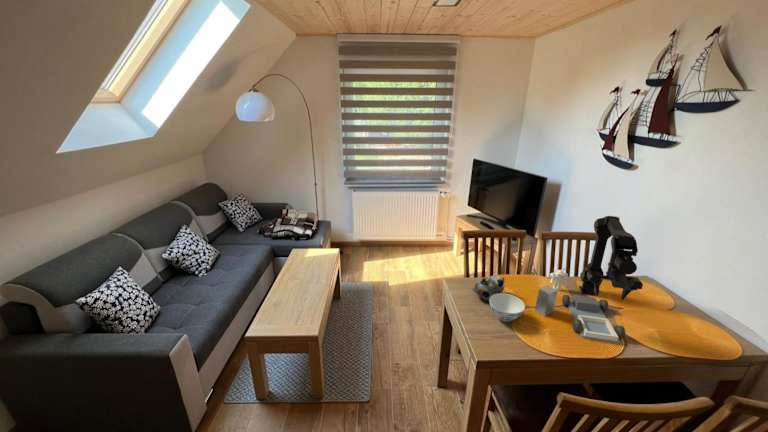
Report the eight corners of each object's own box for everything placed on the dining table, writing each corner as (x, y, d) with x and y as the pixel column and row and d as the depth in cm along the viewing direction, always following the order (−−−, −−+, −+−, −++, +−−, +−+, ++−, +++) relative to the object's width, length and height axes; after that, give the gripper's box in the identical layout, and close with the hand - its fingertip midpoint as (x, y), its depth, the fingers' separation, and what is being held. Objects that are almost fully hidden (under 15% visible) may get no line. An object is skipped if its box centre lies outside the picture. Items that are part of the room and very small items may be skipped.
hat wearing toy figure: (563, 287, 173) (568, 267, 169) (567, 291, 169) (571, 270, 165) (546, 286, 173) (550, 266, 169) (549, 291, 170) (553, 270, 165)
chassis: (561, 300, 162) (563, 291, 161) (602, 305, 158) (604, 296, 156) (576, 336, 138) (578, 326, 136) (625, 344, 134) (628, 334, 132)
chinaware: (527, 316, 150) (530, 302, 147) (514, 332, 140) (516, 317, 137) (496, 303, 160) (498, 289, 157) (481, 317, 150) (483, 303, 147)
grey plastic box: (543, 306, 157) (547, 285, 153) (552, 312, 153) (557, 290, 149) (534, 310, 154) (539, 288, 150) (544, 316, 150) (549, 294, 146)
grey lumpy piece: (477, 284, 175) (492, 264, 170) (496, 300, 170) (512, 280, 165) (468, 290, 162) (484, 269, 158) (488, 307, 157) (506, 285, 153)
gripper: (597, 268, 131) (589, 302, 135) (653, 276, 125) (642, 312, 130) (590, 257, 141) (582, 290, 145) (641, 264, 135) (632, 298, 140)
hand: (609, 297), depth 140 cm, fingers open, 9 cm apart
